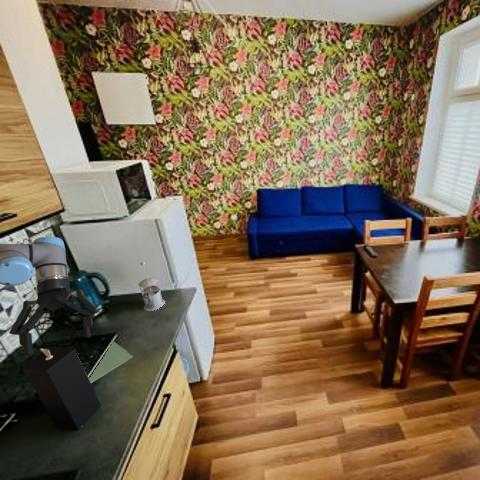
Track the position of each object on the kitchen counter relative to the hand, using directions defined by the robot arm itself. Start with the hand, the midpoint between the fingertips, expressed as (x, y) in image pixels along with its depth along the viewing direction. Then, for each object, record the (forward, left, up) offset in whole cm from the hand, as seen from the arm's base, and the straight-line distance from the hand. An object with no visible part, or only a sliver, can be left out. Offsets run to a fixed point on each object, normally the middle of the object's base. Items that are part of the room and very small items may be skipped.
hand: (59, 345), depth 81 cm
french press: (-31, +40, -22) cm, 55 cm away
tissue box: (+7, -4, -22) cm, 24 cm away
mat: (-14, +8, -22) cm, 27 cm away
